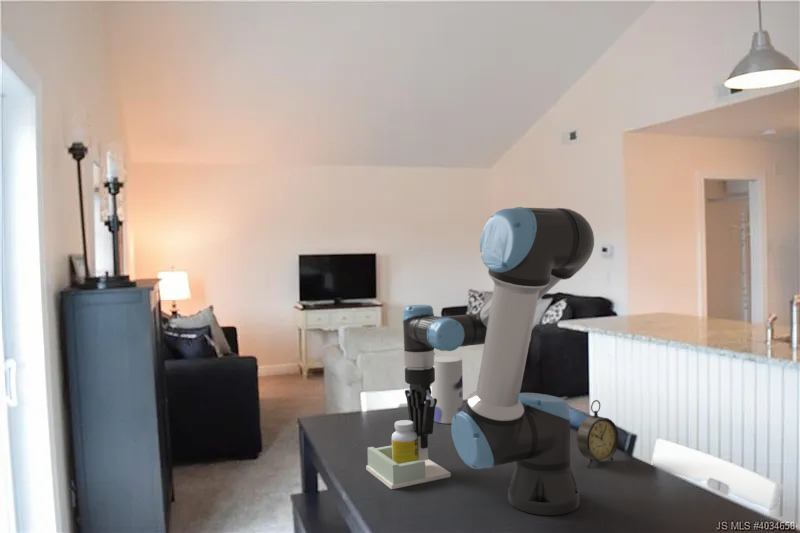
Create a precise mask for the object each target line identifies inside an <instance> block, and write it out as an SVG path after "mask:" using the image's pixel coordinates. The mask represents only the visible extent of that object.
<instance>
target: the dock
mask: <svg viewBox="0 0 800 533" xmlns="http://www.w3.org/2000/svg"><path fill="white" fill-rule="evenodd" d="M365 469H366V471H367V472H368V473H370V474H371V475H372V476H374V477H375V478H376V479H378V481H380V482H382V483H383V484H384V485H385V486H387V487H388V488H389V489H390V490H395V489H399V488H405V487H408V486H409V487H410V486H413V485H418V484H423V483H428V482H433V481H437V480H442V479H447V478H451V475H452V473H451V472H450V471H449V470H447V469H445V468H444V467H442V466H441V465H439V464H437V463H436V462H434V461H432V460H431V459H429V458H428V460H417V461H412V462H407V463H402V464H397V463H396V462H394V461H393V460H392V444H390V445H387V446H386V445H385V446H380V447H374V446H368V447H367V465H365Z"/></svg>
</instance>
